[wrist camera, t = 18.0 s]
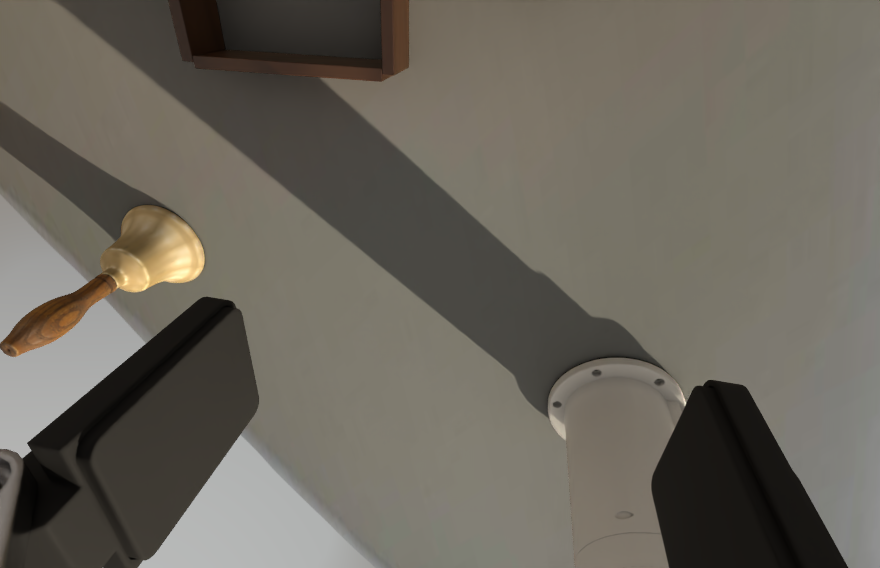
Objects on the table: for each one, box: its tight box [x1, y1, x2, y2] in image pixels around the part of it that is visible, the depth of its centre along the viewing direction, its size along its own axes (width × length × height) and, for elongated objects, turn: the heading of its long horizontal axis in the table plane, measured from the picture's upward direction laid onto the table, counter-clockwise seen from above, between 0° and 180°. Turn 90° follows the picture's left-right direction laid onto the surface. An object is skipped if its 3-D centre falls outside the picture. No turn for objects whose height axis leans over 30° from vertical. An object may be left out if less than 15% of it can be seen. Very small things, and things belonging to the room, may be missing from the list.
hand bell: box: [0, 205, 205, 357], centre depth 38 cm, size 8×8×16 cm
